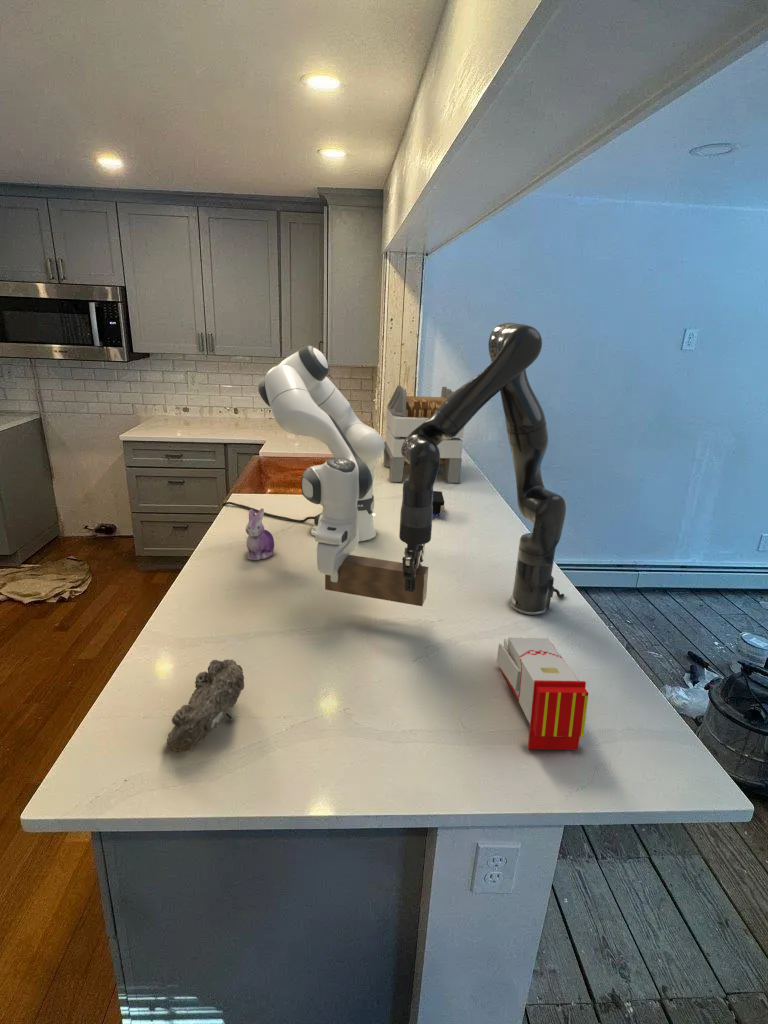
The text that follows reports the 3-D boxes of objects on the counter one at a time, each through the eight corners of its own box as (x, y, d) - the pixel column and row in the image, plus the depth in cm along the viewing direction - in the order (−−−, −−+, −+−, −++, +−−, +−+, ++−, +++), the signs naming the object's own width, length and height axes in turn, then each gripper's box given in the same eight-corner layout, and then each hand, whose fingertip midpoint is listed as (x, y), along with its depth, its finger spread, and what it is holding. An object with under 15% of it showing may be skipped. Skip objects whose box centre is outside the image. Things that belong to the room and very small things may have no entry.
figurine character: (444, 523, 215) (440, 506, 228) (446, 505, 211) (442, 489, 225) (427, 523, 215) (424, 505, 228) (428, 505, 211) (425, 488, 225)
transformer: (382, 463, 289) (386, 382, 275) (445, 464, 293) (451, 384, 279) (390, 482, 257) (394, 392, 243) (460, 483, 261) (468, 394, 247)
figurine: (249, 563, 172) (248, 517, 167) (241, 550, 180) (239, 506, 175) (280, 558, 176) (279, 513, 171) (270, 546, 184) (269, 502, 179)
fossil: (192, 660, 117) (244, 628, 112) (224, 691, 120) (276, 661, 115) (142, 746, 98) (202, 712, 93) (182, 779, 101) (242, 748, 96)
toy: (545, 621, 128) (598, 688, 99) (540, 675, 131) (589, 757, 102) (492, 620, 128) (529, 687, 98) (488, 674, 131) (522, 756, 101)
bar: (325, 589, 143) (325, 559, 140) (331, 581, 147) (331, 551, 144) (422, 606, 137) (424, 574, 134) (426, 597, 141) (428, 566, 138)
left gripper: (342, 509, 149) (341, 557, 153) (312, 537, 130) (312, 591, 135) (365, 513, 147) (363, 561, 152) (337, 541, 129) (337, 595, 133)
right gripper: (425, 533, 125) (420, 602, 131) (437, 513, 138) (433, 576, 144) (392, 529, 127) (389, 596, 133) (407, 509, 140) (404, 571, 146)
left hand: (339, 575), depth 143 cm, fingers closed on bar, 5 cm apart
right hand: (412, 585), depth 138 cm, fingers closed on bar, 4 cm apart
